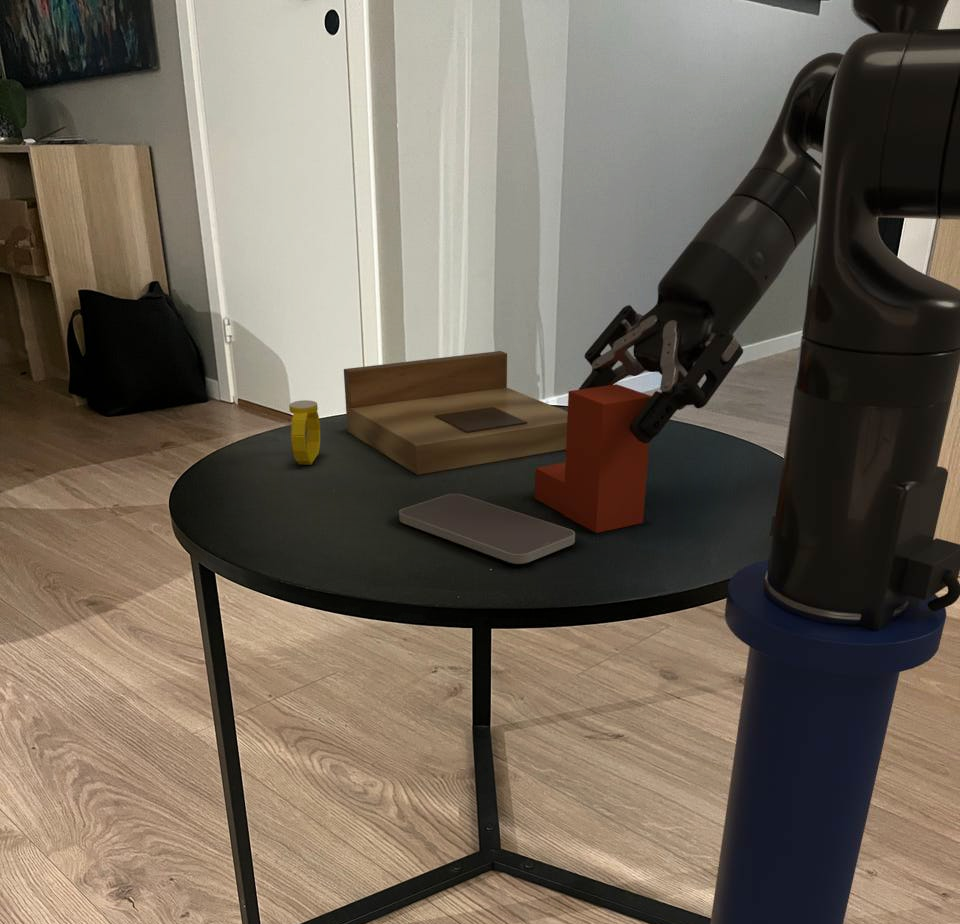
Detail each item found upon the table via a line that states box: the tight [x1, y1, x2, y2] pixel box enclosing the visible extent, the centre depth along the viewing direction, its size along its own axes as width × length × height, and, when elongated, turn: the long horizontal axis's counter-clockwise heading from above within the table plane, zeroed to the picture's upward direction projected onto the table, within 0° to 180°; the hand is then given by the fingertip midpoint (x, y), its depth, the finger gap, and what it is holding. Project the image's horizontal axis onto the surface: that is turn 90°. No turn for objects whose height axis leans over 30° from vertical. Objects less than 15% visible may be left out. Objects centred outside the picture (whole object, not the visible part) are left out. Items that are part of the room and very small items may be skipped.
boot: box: [534, 383, 652, 534], centre depth 86 cm, size 10×5×11 cm, turn 29°
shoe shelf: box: [343, 350, 568, 476], centre depth 107 cm, size 18×20×7 cm
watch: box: [288, 399, 321, 466], centre depth 100 cm, size 6×3×6 cm, turn 174°
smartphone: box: [398, 493, 576, 565], centre depth 83 cm, size 7×1×15 cm
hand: (605, 424), depth 82 cm, fingers open, 8 cm apart
